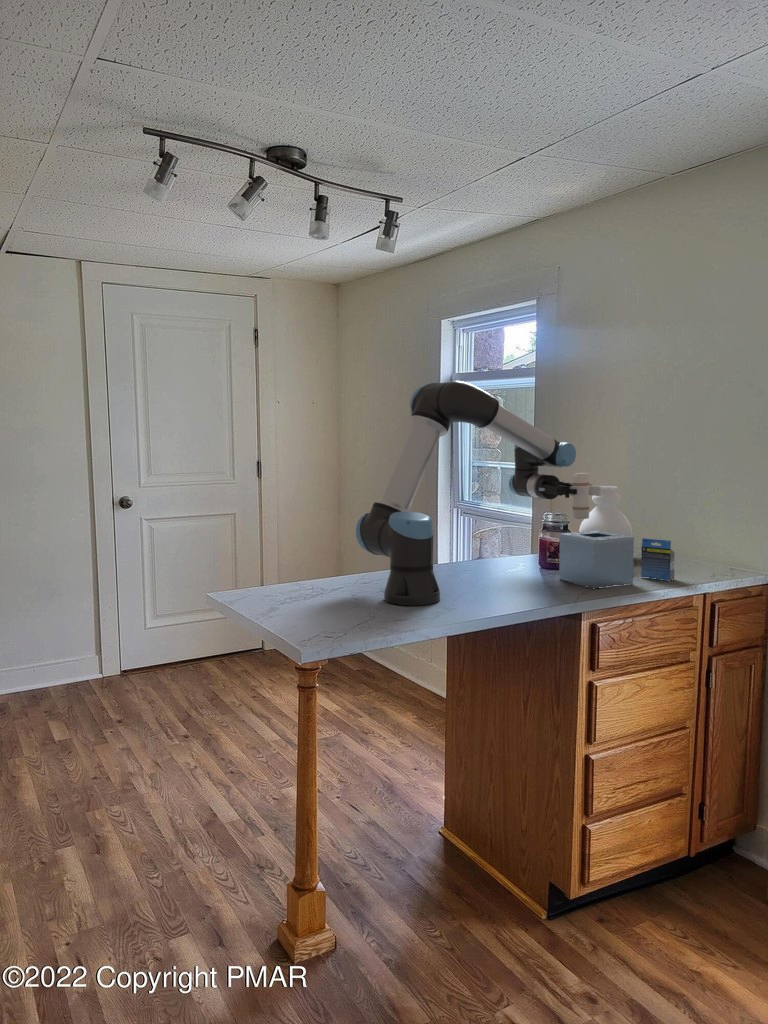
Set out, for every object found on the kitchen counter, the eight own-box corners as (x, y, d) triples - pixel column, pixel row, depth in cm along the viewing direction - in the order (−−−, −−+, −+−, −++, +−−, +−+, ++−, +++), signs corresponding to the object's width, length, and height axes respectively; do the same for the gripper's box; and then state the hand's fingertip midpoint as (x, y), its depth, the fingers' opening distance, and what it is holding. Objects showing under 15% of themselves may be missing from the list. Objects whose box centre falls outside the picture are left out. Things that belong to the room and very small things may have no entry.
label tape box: (674, 579, 220) (675, 538, 218) (670, 581, 216) (671, 540, 215) (645, 576, 225) (646, 536, 224) (640, 578, 222) (641, 538, 221)
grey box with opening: (593, 589, 208) (594, 540, 207) (559, 579, 223) (559, 533, 221) (632, 584, 213) (633, 536, 212) (596, 575, 228) (597, 530, 227)
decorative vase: (625, 553, 267) (626, 484, 264) (637, 561, 249) (638, 488, 247) (575, 553, 269) (575, 485, 266) (583, 562, 251) (584, 488, 248)
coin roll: (579, 519, 212) (579, 474, 210) (569, 517, 216) (569, 473, 214) (592, 518, 213) (592, 473, 212) (582, 516, 218) (582, 472, 216)
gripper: (567, 496, 234) (617, 503, 213) (520, 500, 227) (567, 507, 206) (567, 473, 233) (617, 477, 212) (520, 476, 226) (567, 480, 205)
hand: (593, 491), depth 209 cm, fingers closed on coin roll, 4 cm apart
